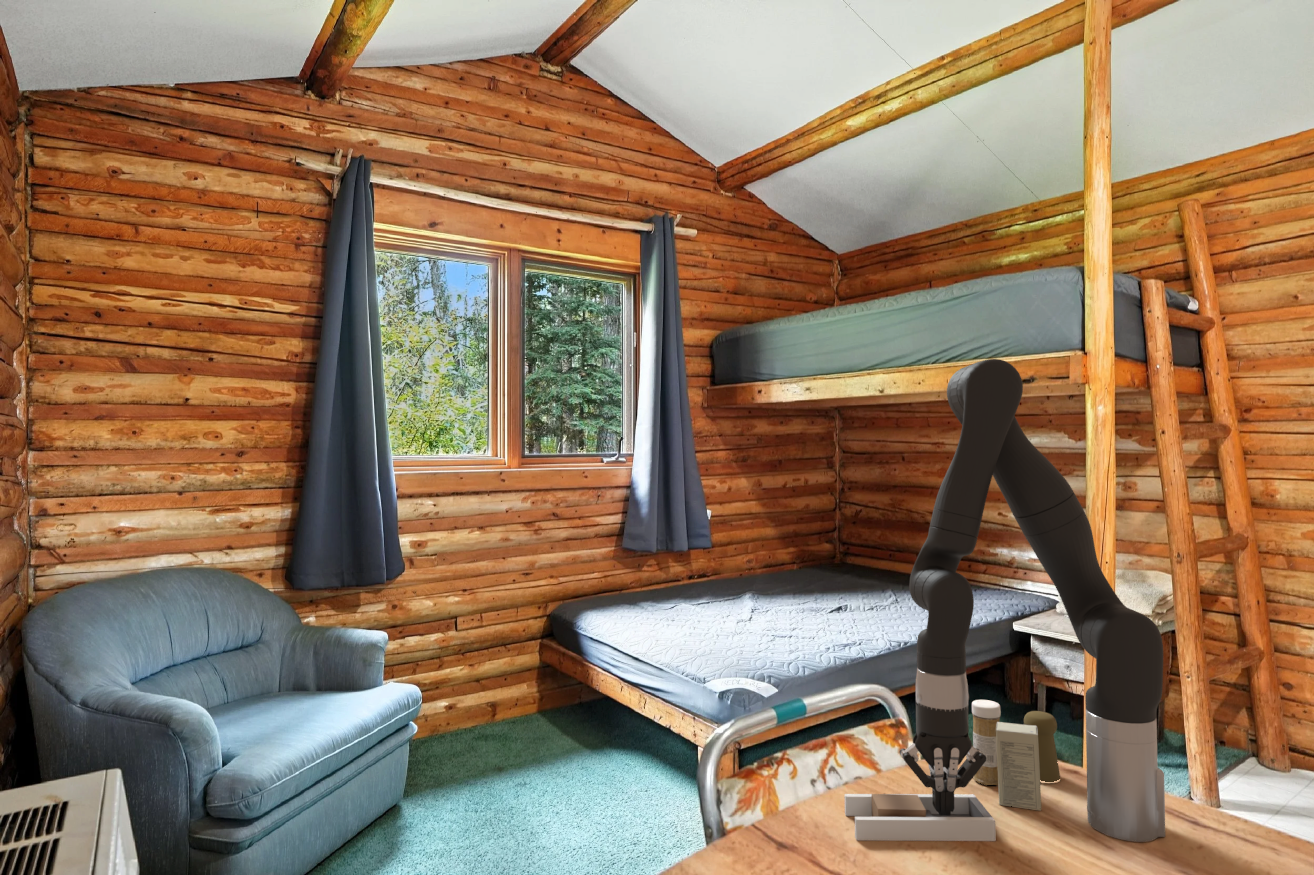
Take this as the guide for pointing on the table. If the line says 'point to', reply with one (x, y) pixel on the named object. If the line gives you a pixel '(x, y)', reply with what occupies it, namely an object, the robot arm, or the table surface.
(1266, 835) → the table surface
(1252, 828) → the table surface
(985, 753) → the sprinkles bottle
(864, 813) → the trap channel
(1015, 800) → the skincare box
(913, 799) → the walnut block
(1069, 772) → the table surface
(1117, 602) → the robot arm
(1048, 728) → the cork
